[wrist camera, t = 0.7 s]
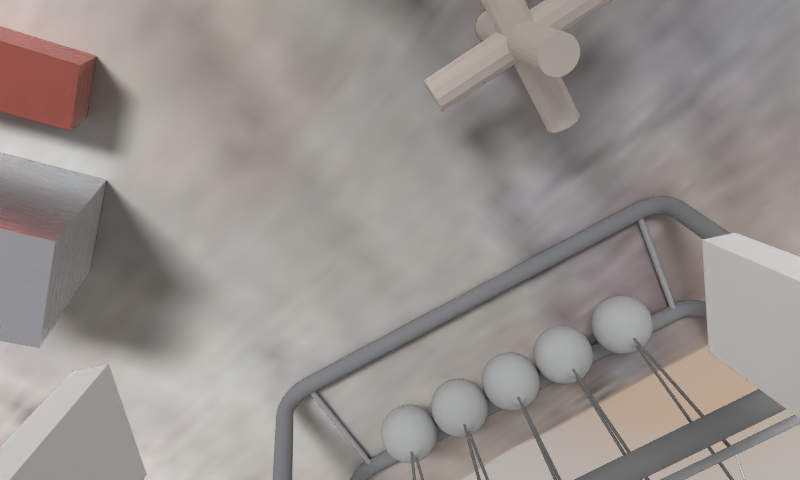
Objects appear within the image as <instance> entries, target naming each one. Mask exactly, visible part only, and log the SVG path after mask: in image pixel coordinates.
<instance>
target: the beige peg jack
mask: <svg viewBox="0 0 800 480" xmlns="http://www.w3.org/2000/svg"><path fill="white" fill-rule="evenodd" d="M611 1H612V0H544V1H542V2H541V3H539V4H538V5H536V6H535V7H533V8H532V9H530V10H529V8H528V5H527V3H526V1H525V0H481V2H482V4H483V6H484V8H485V10H486V11H484V12H483V13H482V14H481V15H480V16H479V18H478V19H477V22H476V33H477V36H478V37H479V38H480V39H481V40H482V42H481V43H479V44H478V45H476V46H475V47H473V48H472V49H470V50H469V51H467V52H466V53H464V54H463V55H461V56H459V57H458V58H456V59H455V60H453V61H452V62H450V63H449V64H447V65H446V66H444V67H443V68H441V69H440V70H438V71H437V72H435V73H434V74H432V75H431V76H429V77H428V78H426V79H425V80H423V81H424V83H425V85H426V87H427V89H428V90H429V92H430V94H431V95H432V97H433V99H434V100H435V102H436V103H437V105H438V106H439V108H440V109H441V111H444V110H445V109H447V108H448V107H450V106H451V105H453V104H454V103H456V102H457V101H459V100H460V99H462V98H464V97H465V96H467V95H468V94H470V93H471V92H473V91H474V90H476V89H477V88H479V87H480V86H482V85H483V84H485V83H486V82H488V81H490V80H491V79H493V78H494V77H496V76H497V75H499V74H500V73H502V72H503V71H505V70H506V69H508V68H509V67H511V66H513V65H514V66H515V68H516V70H517V72H518V74H519V76H520V78H521V80H522V82H523V84H524V86H525V88H526V90H527V92H528V94H529V96H530V98H531V99H532V101H533V103H534V105H535V107H536V109H537V111H538V113H539V115H540V117H541V119H542V121H543V123H544V125H545V127H546V129H547V131H548V132H551V133H556V132H560V131H563V130H565V129H567V128H569V127H571V126H572V125H573V124H574V123H576V122H577V121H578V119H579V117H580V115H579V112H578V110H577V108H576V106H575V104H574V102H573V100H572V98H571V96H570V93H569V91H568V89H567V87H566V85H565V83H564V81H563V79H562V76H564V75H566V74H568V73H569V72H571V71H572V70H573V69H574V67H575V66H576V65H577V63H578V60H579V57H580V46H579V43H578V41H577V39H576V38H575V37H574V36H573V35H572V34H569V33H567V32H565V31H566V30H568V29H569V28H571V27H572V26H574V25H575V24H577V23H578V22H580V21H581V20H583V19H584V18H586V17H588V16H589V15H591V14H592V13H594V12H595V11H597V10H598V9H600V8H601V7H603V6H604V5H606V4H607V3H609V2H611Z"/></svg>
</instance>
